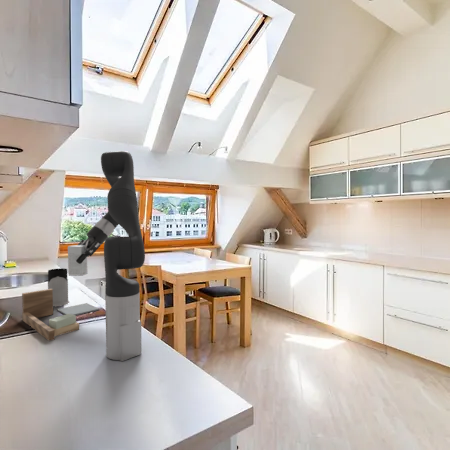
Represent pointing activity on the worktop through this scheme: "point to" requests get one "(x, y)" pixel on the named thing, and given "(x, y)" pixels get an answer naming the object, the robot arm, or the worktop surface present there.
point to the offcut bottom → (66, 329)
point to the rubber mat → (78, 309)
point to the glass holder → (58, 286)
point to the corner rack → (38, 311)
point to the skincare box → (73, 266)
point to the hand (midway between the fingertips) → (73, 261)
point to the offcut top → (62, 321)
